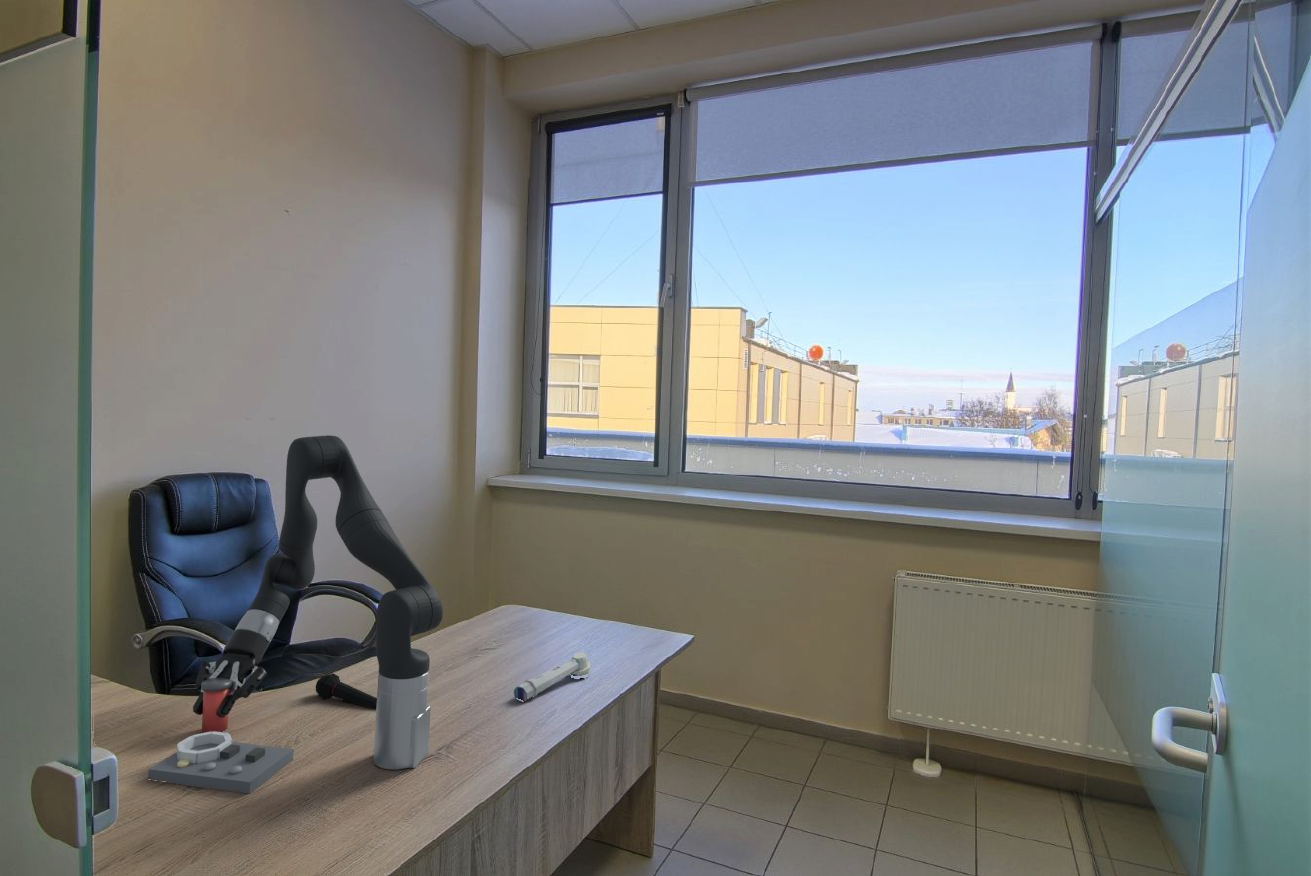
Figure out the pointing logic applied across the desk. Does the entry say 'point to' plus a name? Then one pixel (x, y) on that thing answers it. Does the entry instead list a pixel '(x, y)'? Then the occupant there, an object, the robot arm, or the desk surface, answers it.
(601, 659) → the desk surface
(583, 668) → the toothbrush head
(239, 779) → the grey control panel
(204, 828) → the desk surface
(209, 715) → the cap
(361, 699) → the microphone
